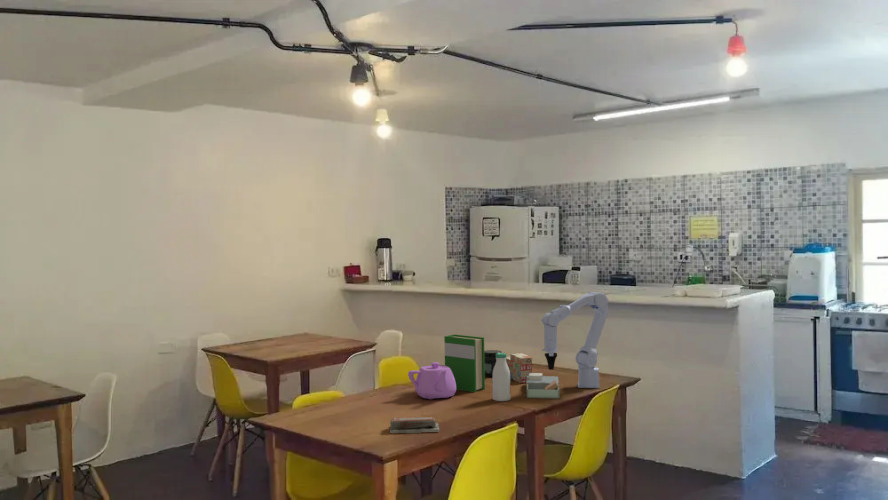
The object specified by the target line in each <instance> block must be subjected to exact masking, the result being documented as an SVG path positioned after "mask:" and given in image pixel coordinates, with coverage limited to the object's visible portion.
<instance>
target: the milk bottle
mask: <svg viewBox="0 0 888 500" xmlns="http://www.w3.org/2000/svg"><path fill="white" fill-rule="evenodd" d="M506 357H507V353H505V352H502V353H496V364H495V366H494V369H493V377H492V399H493V401H496V402H508V401H510V400H511V398H512V397H511V395H512V393H511V390H512V389H511V378H510V370H509V367H508V365H507V363H506Z"/></svg>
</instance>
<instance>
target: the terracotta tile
mask: <svg viewBox="0 0 888 500" xmlns="http://www.w3.org/2000/svg"><path fill="white" fill-rule="evenodd" d="M557 387H559V388H560V385H559V386H558V383H557V381H556V380H555V381H553V382H552V383H550V384H548V385H547V386H545V387H544V388H545V390H554V389H555V388H557Z"/></svg>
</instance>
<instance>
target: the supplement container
mask: <svg viewBox="0 0 888 500" xmlns="http://www.w3.org/2000/svg"><path fill="white" fill-rule="evenodd" d="M496 353H503V352H502V351H501V350H498V349H487V350H484V361H485V377H488V378H491V377H492V378H493V369H494V366H495V364H496Z"/></svg>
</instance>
